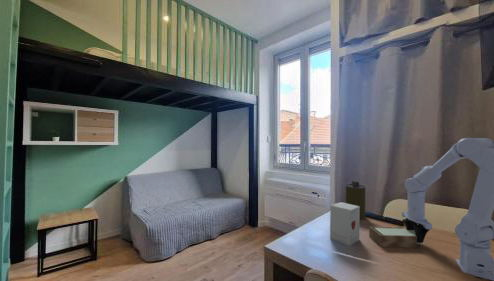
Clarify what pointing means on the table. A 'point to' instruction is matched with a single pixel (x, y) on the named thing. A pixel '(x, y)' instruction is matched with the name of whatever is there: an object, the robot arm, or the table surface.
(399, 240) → the tub
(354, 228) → the supplement box
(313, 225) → the table surface
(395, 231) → the lid
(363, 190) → the canister
